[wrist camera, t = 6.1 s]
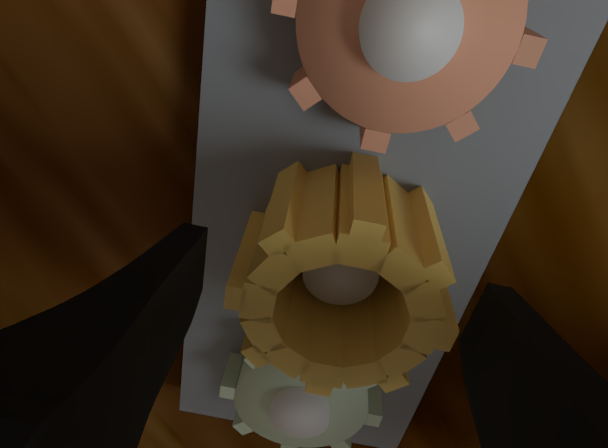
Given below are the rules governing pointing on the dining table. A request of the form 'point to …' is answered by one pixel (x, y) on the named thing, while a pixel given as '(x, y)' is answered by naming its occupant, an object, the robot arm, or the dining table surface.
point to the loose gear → (351, 252)
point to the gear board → (371, 141)
